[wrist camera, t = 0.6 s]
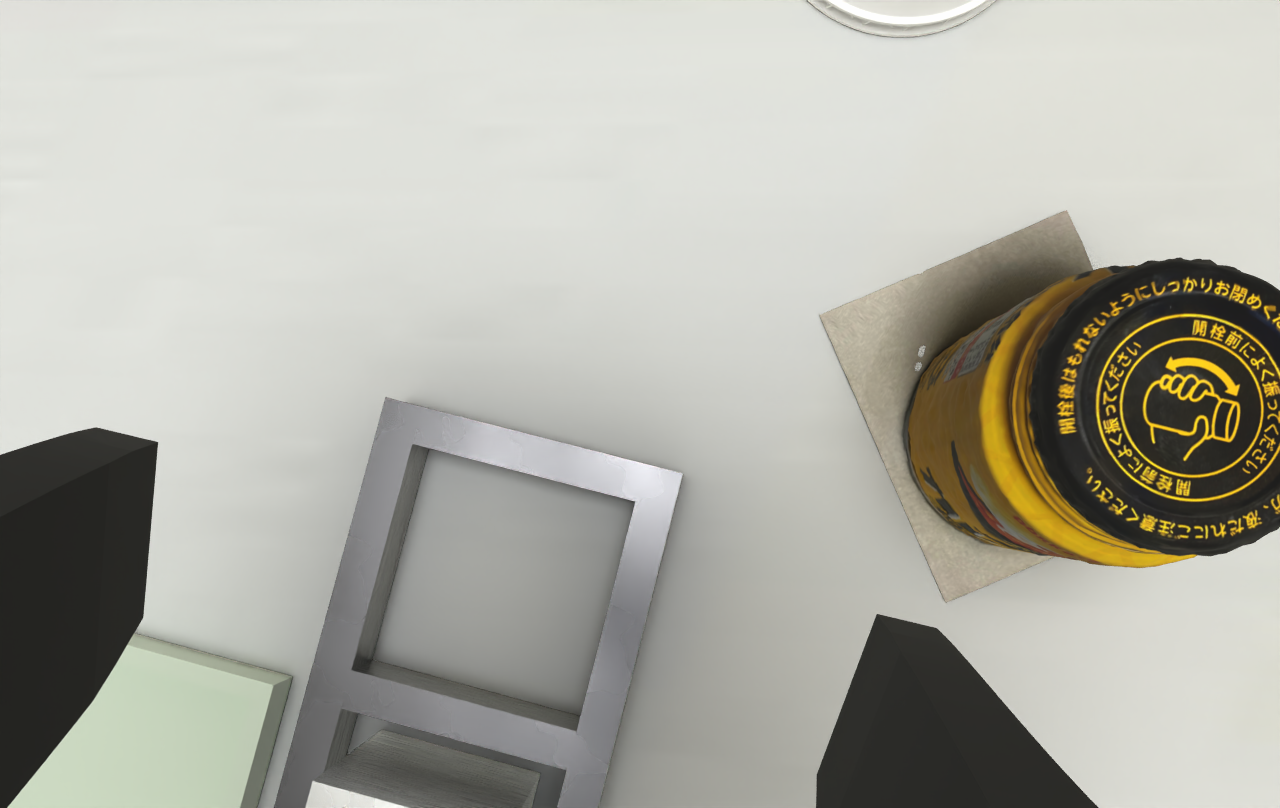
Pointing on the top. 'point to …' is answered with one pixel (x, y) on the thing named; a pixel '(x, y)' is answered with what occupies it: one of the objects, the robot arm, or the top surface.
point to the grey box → (420, 778)
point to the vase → (901, 15)
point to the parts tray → (167, 735)
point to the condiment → (1070, 406)
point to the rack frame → (445, 706)
